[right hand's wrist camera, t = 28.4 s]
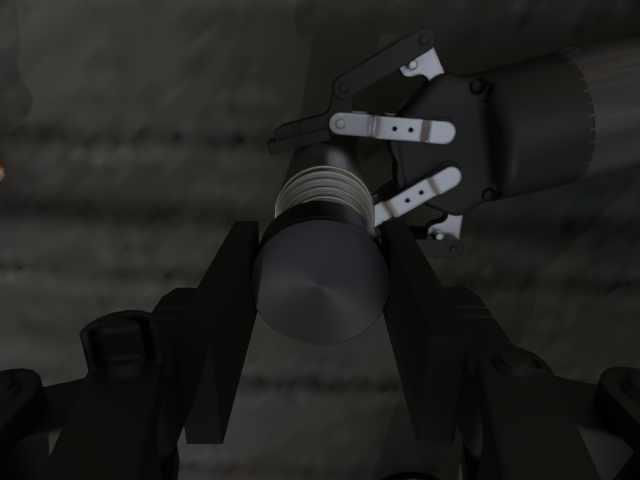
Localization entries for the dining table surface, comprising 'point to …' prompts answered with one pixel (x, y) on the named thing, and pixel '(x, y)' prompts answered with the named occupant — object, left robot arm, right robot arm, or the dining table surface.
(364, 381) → the dining table surface
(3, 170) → the orange-brown lumpy piece
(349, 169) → the bottle
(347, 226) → the cap
